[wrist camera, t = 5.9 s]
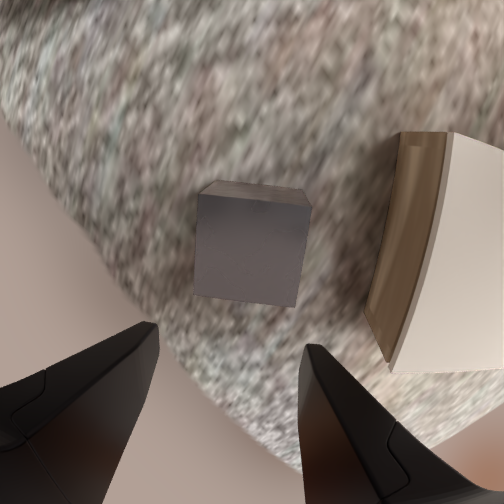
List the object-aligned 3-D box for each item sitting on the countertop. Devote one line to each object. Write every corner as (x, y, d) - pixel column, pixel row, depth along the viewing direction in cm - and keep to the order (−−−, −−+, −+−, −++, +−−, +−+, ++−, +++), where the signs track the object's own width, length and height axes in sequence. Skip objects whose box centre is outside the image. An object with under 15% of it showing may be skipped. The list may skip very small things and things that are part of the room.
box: (544, 181, 17) (592, 197, 11) (504, 319, 21) (539, 355, 15) (400, 131, 17) (445, 132, 12) (363, 311, 21) (386, 362, 16)
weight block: (301, 189, 19) (311, 206, 14) (290, 268, 20) (294, 307, 16) (217, 179, 19) (198, 193, 14) (211, 258, 21) (193, 294, 16)
